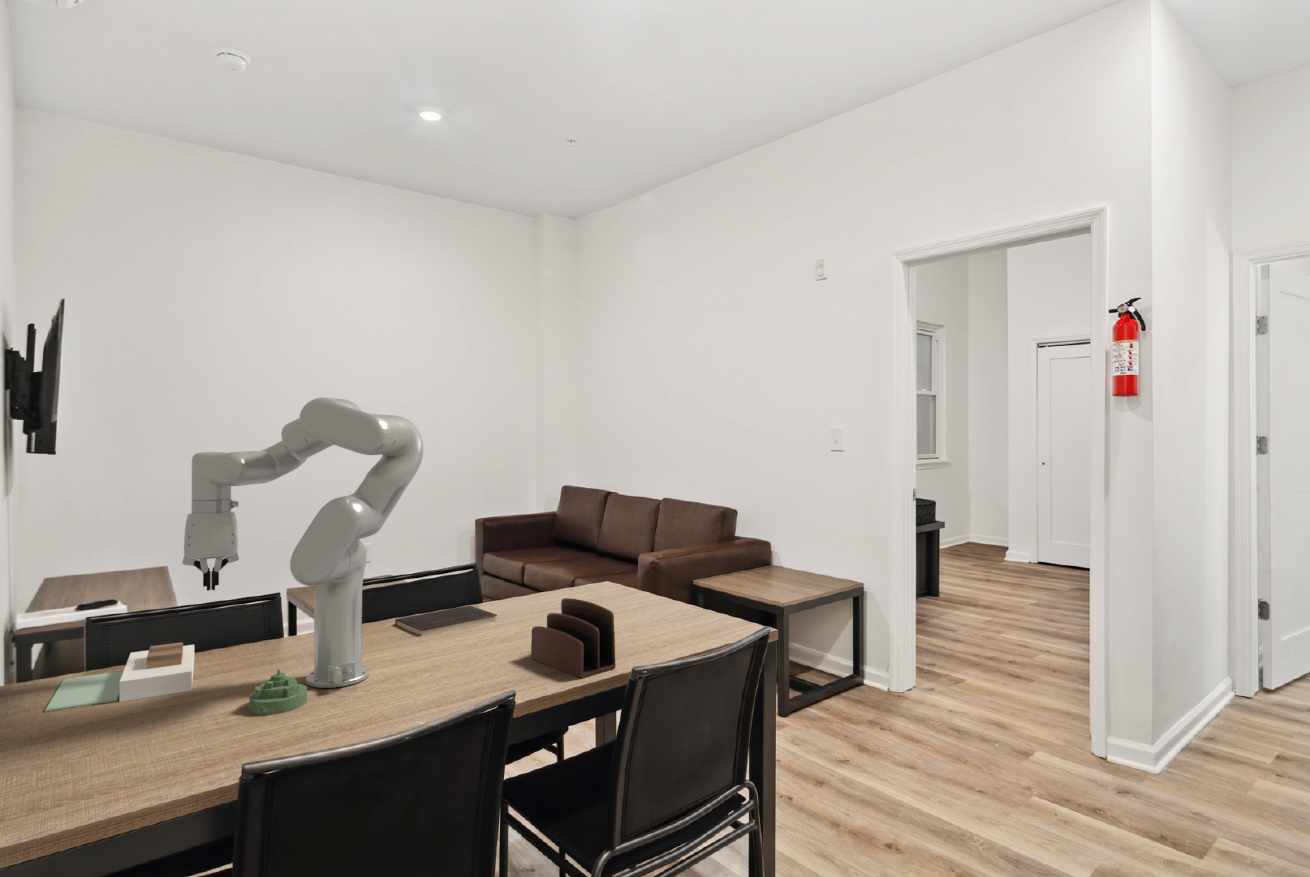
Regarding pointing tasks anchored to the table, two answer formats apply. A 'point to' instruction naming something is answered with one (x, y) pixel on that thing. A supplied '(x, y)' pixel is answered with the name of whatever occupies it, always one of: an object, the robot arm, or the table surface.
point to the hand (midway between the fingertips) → (210, 589)
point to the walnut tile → (165, 655)
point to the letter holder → (576, 639)
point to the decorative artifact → (278, 695)
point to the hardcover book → (445, 620)
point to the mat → (86, 691)
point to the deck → (156, 676)
